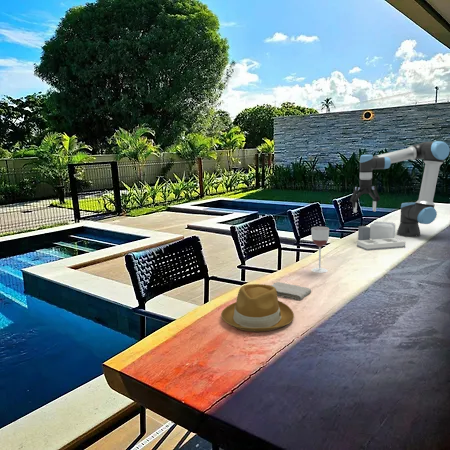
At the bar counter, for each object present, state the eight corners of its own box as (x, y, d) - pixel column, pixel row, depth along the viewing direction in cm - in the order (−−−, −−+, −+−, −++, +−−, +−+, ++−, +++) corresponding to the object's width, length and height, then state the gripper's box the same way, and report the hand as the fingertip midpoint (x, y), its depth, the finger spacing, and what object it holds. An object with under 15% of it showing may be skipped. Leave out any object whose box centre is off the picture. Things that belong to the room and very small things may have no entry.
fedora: (209, 329, 140) (208, 297, 138) (236, 300, 167) (235, 273, 165) (284, 340, 131) (284, 306, 129) (300, 307, 157) (300, 279, 155)
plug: (364, 241, 265) (365, 226, 263) (369, 243, 259) (370, 227, 258) (358, 242, 264) (358, 226, 262) (362, 243, 258) (363, 228, 257)
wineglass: (329, 268, 208) (329, 226, 204) (327, 273, 199) (328, 230, 195) (312, 267, 211) (312, 226, 207) (309, 272, 202) (310, 229, 198)
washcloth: (275, 286, 184) (275, 280, 183) (312, 293, 174) (312, 286, 173) (262, 294, 174) (262, 287, 174) (300, 302, 164) (300, 294, 163)
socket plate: (393, 243, 258) (393, 236, 257) (405, 247, 247) (405, 240, 246) (356, 246, 253) (356, 239, 253) (366, 250, 242) (367, 243, 241)
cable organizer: (396, 239, 268) (396, 222, 266) (392, 242, 260) (393, 225, 258) (373, 237, 277) (373, 220, 275) (368, 240, 269) (369, 223, 267)
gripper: (380, 177, 260) (378, 209, 264) (344, 179, 256) (344, 212, 259) (386, 178, 253) (385, 211, 257) (350, 180, 248) (349, 213, 252)
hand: (364, 211), depth 258 cm, fingers open, 13 cm apart
